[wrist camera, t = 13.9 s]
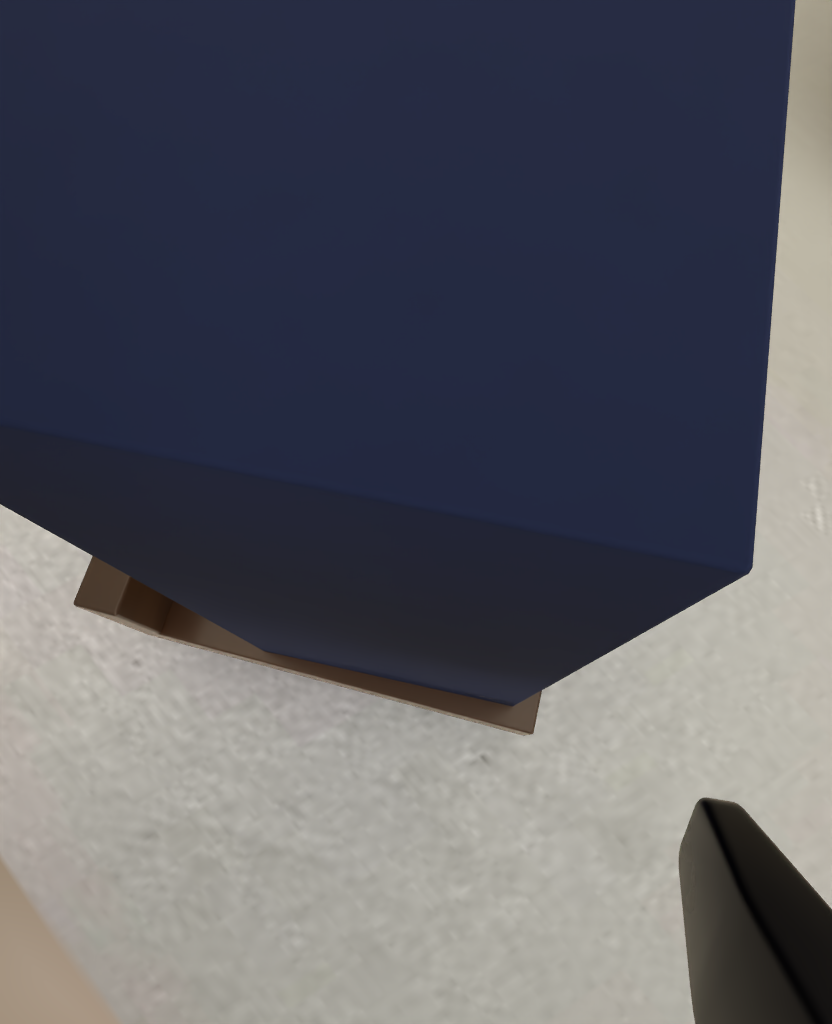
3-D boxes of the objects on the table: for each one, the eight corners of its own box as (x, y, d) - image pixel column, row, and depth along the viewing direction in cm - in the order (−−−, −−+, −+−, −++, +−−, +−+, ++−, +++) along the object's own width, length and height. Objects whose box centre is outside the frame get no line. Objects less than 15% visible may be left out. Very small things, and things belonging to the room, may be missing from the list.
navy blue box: (514, 706, 16) (754, 574, 4) (262, 650, 17) (-232, 376, 4) (594, 241, 20) (840, -563, 8) (387, 208, 21) (311, -590, 8)
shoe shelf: (519, 736, 19) (549, 732, 14) (167, 642, 20) (70, 605, 15) (619, 247, 24) (671, 104, 18) (332, 192, 25) (303, 42, 19)
